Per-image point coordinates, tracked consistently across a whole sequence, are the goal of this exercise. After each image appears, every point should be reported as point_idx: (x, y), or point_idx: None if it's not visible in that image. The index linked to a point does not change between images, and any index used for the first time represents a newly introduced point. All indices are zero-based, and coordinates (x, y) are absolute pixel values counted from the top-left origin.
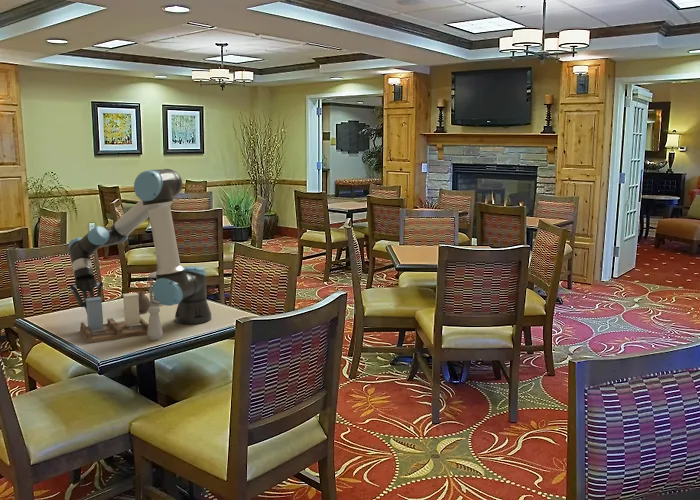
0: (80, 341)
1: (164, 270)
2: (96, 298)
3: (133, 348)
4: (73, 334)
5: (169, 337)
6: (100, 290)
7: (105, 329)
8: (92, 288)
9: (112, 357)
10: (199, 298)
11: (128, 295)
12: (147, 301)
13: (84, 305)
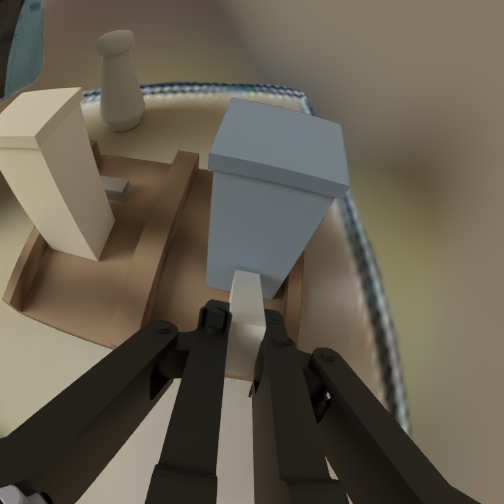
0: (318, 236)
1: None
2: (262, 128)
3: (210, 104)
4: (323, 347)
5: (95, 117)
6: (54, 407)
7: (198, 259)
8: (159, 475)
9: (274, 96)
10: None
11: (55, 94)
12: None
13: (301, 352)
